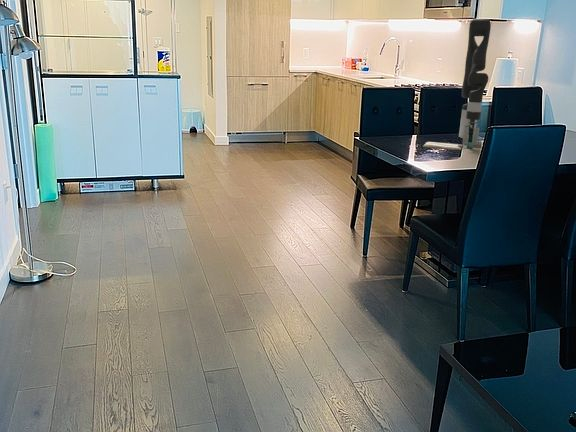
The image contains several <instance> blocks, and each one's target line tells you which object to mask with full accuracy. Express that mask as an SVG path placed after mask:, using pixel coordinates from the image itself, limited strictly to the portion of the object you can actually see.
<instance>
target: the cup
mask: <svg viewBox="0 0 576 432" xmlns="http://www.w3.org/2000/svg"><path fill="white" fill-rule="evenodd" d="M468 127H469V126H465V127H464V135H463V138H462V145H465V144H466V146H467V138H468ZM479 136H480V126H477V125H476V128H475V133H474V141H473V146H478V144H479V142H478V141H479Z"/></svg>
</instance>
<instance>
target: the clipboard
mask: <svg viewBox="0 0 576 432" xmlns="http://www.w3.org/2000/svg"><path fill="white" fill-rule="evenodd" d="M424 143H425V144H424V145H422V147H423V148H429V149H431V148H432V149H441V150H442V149H443V150H453V151H461V150H462V149H463V146H464V144H461V143H460V144H459V143H449V142H435V141H426V142H424Z"/></svg>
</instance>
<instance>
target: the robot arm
mask: <svg viewBox="0 0 576 432" xmlns="http://www.w3.org/2000/svg"><path fill="white" fill-rule="evenodd" d="M491 28H492V23H491V19H489V18H472V19H471V20H470V22H469V26H468V44H467V50H466V57H465V65H464V66H465V67H464V77H463V81H462V86H461V98H464V99H468V103H465V104H463V105H462V107H461V115H460V116H461V117H460V124H459V125H460V126H459V132H458V138H459V137H460V138H459V139H463V135H464V127H465V126H469V127H468V131H469V132H468V135H469V137H468V142H472V139H473V132H474V131H475V128H476V127H475V126H477V121H479V120H481V117H482V110H483V109H482V108H483V96H484V91H485V88H486V86H487V84H488V82H489V75H488V74H487V73H484V72H482V71H484V70H485V69H486V64H487V63H486V62H487V51H488V46H489V41H490V35H491ZM475 37H482V41H481V42H480V44H479V45H478V43H477V40H476V38H475ZM470 131H472V133H470Z"/></svg>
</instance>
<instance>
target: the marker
mask: <svg viewBox="0 0 576 432" xmlns="http://www.w3.org/2000/svg"><path fill="white" fill-rule="evenodd" d="M476 126H477V125H476ZM476 126H475V127H476ZM468 132H469V131H468ZM470 133H472V131H470ZM474 133H475V131H474V132H473V139H472V142H468V138H467V145H466V149H468V148H469V149H473V148H474V145H473V141H474ZM468 137H469V135H468Z"/></svg>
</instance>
